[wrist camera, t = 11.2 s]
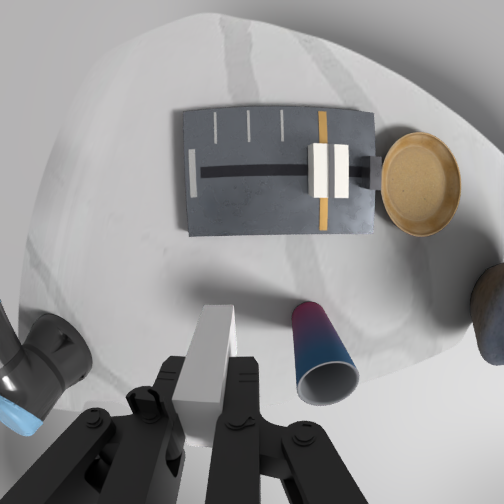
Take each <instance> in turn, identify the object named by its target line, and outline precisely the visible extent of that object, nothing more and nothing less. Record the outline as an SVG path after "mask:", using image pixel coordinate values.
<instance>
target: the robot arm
mask: <svg viewBox="0 0 504 504" xmlns="http://www.w3.org/2000/svg"><path fill="white" fill-rule="evenodd" d="M236 355H237V341H236V328H235V315H234V305H204V307H203V309H202V312H201V315H200V318H199V321H198V323H197V326H196V329H195V332H194V335H193V338H192V341H191V344H190V346H189V349H188V352H187V355H186V357H182V356H170V357H169V358H168V359H167V360H166V361H164V362H163V364H162V366H161V368H160V371H159V373H158V375H157V379H156V380H155V383H154V385H153V387H151V386H141V387H138V388H135V389H133V390H132V391H130V392H129V393H128V394H127V395H126V399H127V401H128V404H129V406H130V408H131V410H132V412H133V414H131V415H126V416H114V417H111V416H110V414H109V413H108V412H107V411H106V410H105V409H102V408H90V409H87V410H85V411H84V412H83V413H81V414H80V415H79V416H78V417H77V419H76V420H75V421H74V422H73V423H72V424H71V425H70V426H69V427H68V428H67V429H66V430H65V431H64V432H63V433H62V434H61V435H60V436H59V437H58V438H57V440H56V441H55V442H54V443H53V444H52V445H51V446H50V447H49V448H48V449H47V450H46V451H45V452H44V454H42V455H41V457H40V458H39V459H38V460H37V461H36V462H35V463H34V464H33V465H32V466H31V467H30V468H29V470H27V472H26V473H25V474H24V475H23V476H22V477H21V478H20V479H19V480H18V481H17V482H16V483H15V484H14V486H13V487H12V488H11V489H10V490H9V491H8V492H7V493H6V494H5V495H4V496H3V498H2V499H1V500H0V504H176V501H177V496H178V491H179V486H180V481H181V476H182V471H183V466H184V461H185V451H184V449H183V446H184V442H185V439H186V442H187V444H188V445H190V446H200V447H213V448H212V456H211V463H210V470H209V478H208V485H207V492H206V500H205V504H261V503H260V502H261V495H260V494H261V491H260V490H261V487H260V486H261V485H260V484H261V483H260V474H261V475H265V476H270V477H274V478H279V479H280V480H281V483H282V485H283V488H284V490H285V493H286V496H287V498H288V500H289V503H290V504H368V502H367V501H366V499H365V497H364V496H363V494H362V492H361V491H360V489H359V487H358V486H357V484H356V482H355V481H354V479H353V477H352V476H351V474H350V473H349V471H348V470H347V467H346V466H345V464H344V462H343V461H342V459H341V457H340V456H339V454H338V452H337V451H336V449H335V447H334V446H333V444H332V442H331V440H330V439H329V437H328V435H327V434H326V432H325V430H324V429H323V428H322V427H321V426H320V425H318V424H316V423H314V422H310V421H297V422H295V423H293V424H290V425H289V426H288V427H283V426H279V425H275V424H272V423H270V422H268V421H266V420H265V419H264V418H263V417H262V415H261V414H260V406H259V365H258V363H257V361H256V360H255V358H254V357H236ZM91 368H92V356H91V353H90V350H89V348H88V346H87V344H86V342H85V341H84V339H83V338H82V337H81V335H80V334H79V333H78V332H77V330H76V329H75V328H74V327H73V326H71V325H70V324H69V323H68V322H67V321H65V320H64V319H62V318H60V317H58V316H56V315H52V314H45V315H43V316H41V317H40V318H39V319H38V320H36V321H35V322H34V324H33V326H32V329H31V330H30V332H29V334H28V336H27V338H26V340H25V342H24V344H23V345H21V343H20V341H19V339H18V337H17V335H16V334H15V332H14V330H13V328H12V326H11V324H10V322H9V320H8V317H7V315H6V313H5V311H4V308H3V306H2V304H1V300H0V421H1V422H2V423H4V424H5V425H6V426H7V427H9V428H10V429H12V430H13V431H15V432H17V433H18V434H21V435H24V436H31V435H33V434H34V433H35V432H36V430H37V429H38V428H39V427H40V426H41V425H42V424H43V421H44V420H45V418H46V417H47V415H48V414H49V412H50V411H51V409H52V408H53V406H54V405H55V403H56V402H57V401H58V399H59V398H60V396H61V395H62V394H63V392H64V391H65V390H66V389H67V388H69V387H71V386H72V385H74V384H76V383H77V382H79V381H81V380H83V379H84V378H85V377H86V376H87V374H88V373H89V372H90V370H91Z"/></svg>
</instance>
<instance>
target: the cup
mask: <svg viewBox="0 0 504 504" xmlns="http://www.w3.org/2000/svg"><path fill="white" fill-rule="evenodd" d="M292 328H293V341H294V354H295V369H296V384H297V393H298V396H299V397H300V398H301V400H303V401H304V402H306V403H308V404H311V405H316V406H324V405H325V406H326V405H331V404H334V403H337V402H339V401H341V400H343V399H345V398H346V397H347V396H349V395H350V394H351V393H352V392H353V391H354V390H355V388H356V387H357V385H358V382H359V372H358V370H357V368H356V367H355V365H354V363H353V361H352V359H351V357H350V356H349V354H348V352H347V350H346V348H345V347H344V345H343V343H342V341H341V339H340V338H339V336H338V334H337V332H336V331H335V329H334V327H333V325H332V324H331V322H330V320H329V318H328V317H327V315H326V313H325V311H324V310H323V308H322V307H321V306H320V305H319V304H317V303H315V302H305V303H302V304H301V305H299V306H298V307H296V309H295V310H294V311H293V314H292Z"/></svg>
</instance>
